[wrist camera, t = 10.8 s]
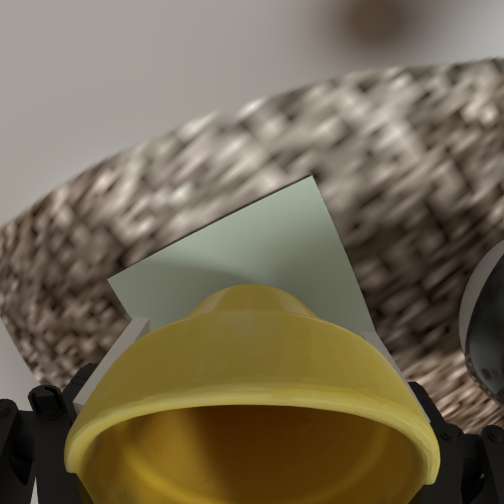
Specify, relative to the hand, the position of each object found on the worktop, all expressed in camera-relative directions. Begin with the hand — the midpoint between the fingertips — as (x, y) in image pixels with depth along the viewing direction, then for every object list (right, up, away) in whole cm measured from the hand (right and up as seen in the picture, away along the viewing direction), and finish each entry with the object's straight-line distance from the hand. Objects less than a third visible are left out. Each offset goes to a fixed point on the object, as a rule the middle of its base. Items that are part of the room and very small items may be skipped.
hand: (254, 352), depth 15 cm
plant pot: (0, 0, +1) cm, 1 cm away
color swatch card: (+3, -6, +4) cm, 8 cm away
